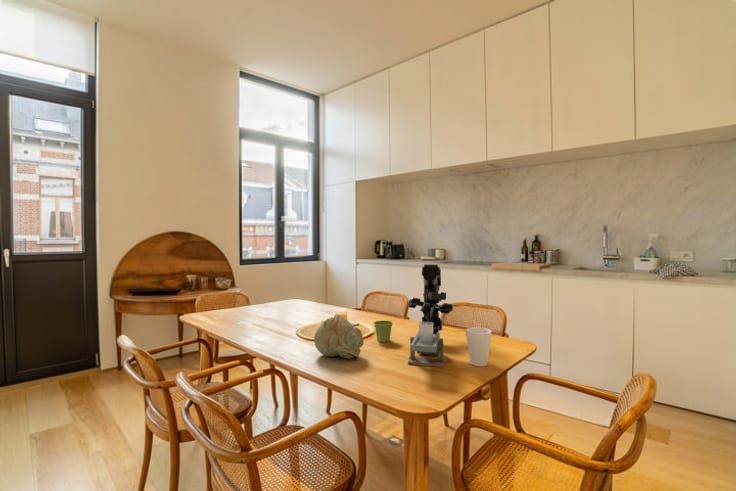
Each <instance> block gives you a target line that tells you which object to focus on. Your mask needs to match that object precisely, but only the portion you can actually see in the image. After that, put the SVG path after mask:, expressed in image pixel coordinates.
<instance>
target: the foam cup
mask: <svg viewBox="0 0 736 491" xmlns="http://www.w3.org/2000/svg"><path fill="white" fill-rule="evenodd" d="M465 336H466V342H467V350H468V356H469V358H468V359H469V363H470V365H472V366H475V367H485V366H487V364H488V360H489V353H490V344H491V339H492V330H491V329H489V328H485V327H478V326H477V327H475V326H473V327H467V328H466V329H465Z"/></svg>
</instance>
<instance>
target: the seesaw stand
mask: <svg viewBox="0 0 736 491" xmlns="http://www.w3.org/2000/svg"><path fill="white" fill-rule="evenodd" d="M414 338H415V336H410V339H409V340H410V342H409V344H410V345H411V343H412V341H413V340H414ZM407 365H409V366H410V365H411V366H425V367H427V366H428V367H438V368H439V367H440V368H445V365H446V357H444V338H441V337H440V338H439V354H438V356H429V355H426V356H425V355H424V356H423V355H416V351H410V354H409V358H408V360H407Z"/></svg>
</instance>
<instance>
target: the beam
mask: <svg viewBox="0 0 736 491" xmlns="http://www.w3.org/2000/svg"><path fill="white" fill-rule="evenodd" d="M440 334H441V332H440V331H438V332H437V334H433V342H432V343H422V342H419V330H418V331H417V333H416V334H415V336H414V337H415V338H414V340H413V341H412V343H411V345H410V346H409V348H410V349H409V350H410V351H415V352H416V354H428V355H439V338H441V336H440Z"/></svg>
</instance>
